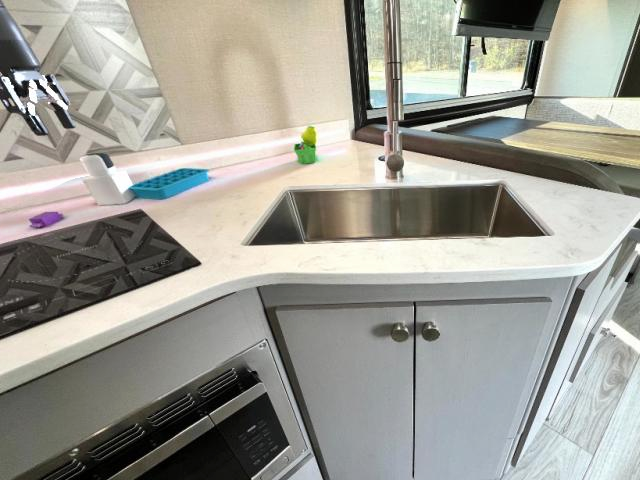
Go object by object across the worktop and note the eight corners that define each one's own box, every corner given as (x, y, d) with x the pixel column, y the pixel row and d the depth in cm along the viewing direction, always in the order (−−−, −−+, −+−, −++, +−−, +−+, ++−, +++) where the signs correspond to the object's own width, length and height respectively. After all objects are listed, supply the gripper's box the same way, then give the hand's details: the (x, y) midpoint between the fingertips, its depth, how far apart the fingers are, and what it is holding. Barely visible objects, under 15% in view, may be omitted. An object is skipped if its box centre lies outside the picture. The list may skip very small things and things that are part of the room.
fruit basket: (297, 158, 121) (289, 125, 114) (320, 156, 122) (314, 123, 115) (297, 165, 112) (289, 130, 105) (322, 163, 114) (316, 128, 107)
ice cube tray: (214, 179, 102) (211, 169, 100) (162, 201, 86) (157, 190, 85) (185, 177, 104) (181, 167, 102) (130, 198, 89) (124, 187, 87)
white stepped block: (112, 197, 90) (85, 152, 83) (139, 195, 91) (115, 150, 84) (98, 206, 85) (68, 158, 77) (126, 203, 86) (100, 156, 78)
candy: (31, 231, 73) (23, 221, 71) (56, 219, 78) (49, 209, 76) (44, 231, 73) (36, 220, 71) (68, 219, 78) (61, 209, 76)
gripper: (9, 41, 66) (62, 127, 76) (-60, 37, 55) (12, 139, 65) (48, 40, 67) (95, 125, 77) (-12, 35, 56) (51, 137, 66)
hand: (57, 131), depth 71 cm, fingers open, 8 cm apart
